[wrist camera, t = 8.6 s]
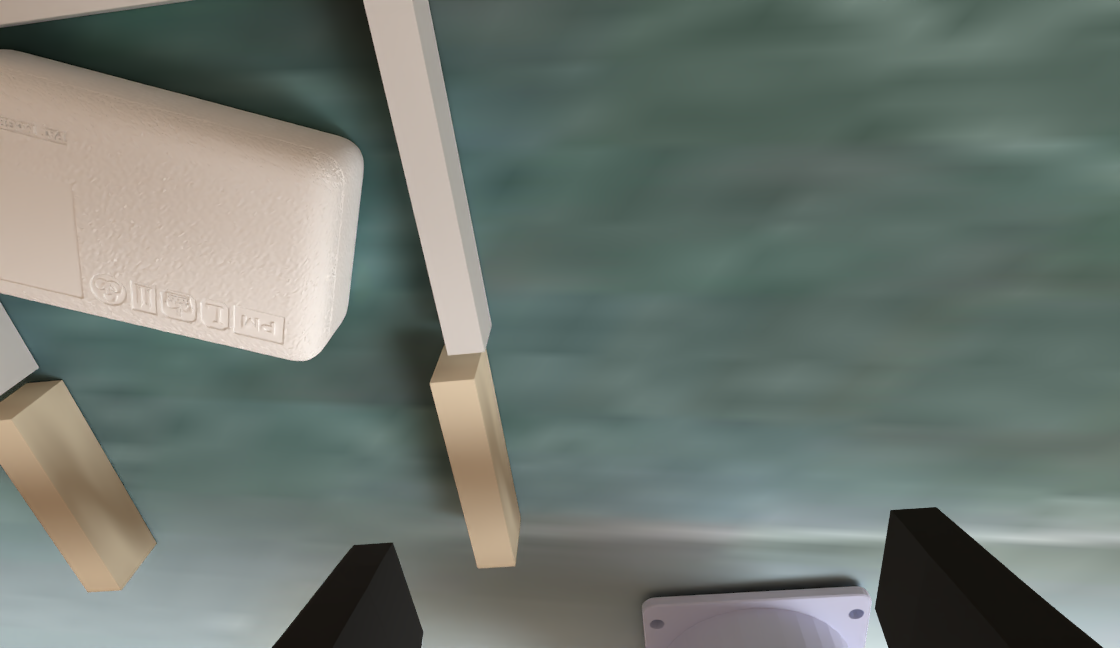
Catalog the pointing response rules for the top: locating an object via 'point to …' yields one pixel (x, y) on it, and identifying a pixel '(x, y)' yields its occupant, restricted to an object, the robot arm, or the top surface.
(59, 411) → the slot
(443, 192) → the white frame
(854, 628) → the robot arm
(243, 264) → the soap
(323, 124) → the top surface
